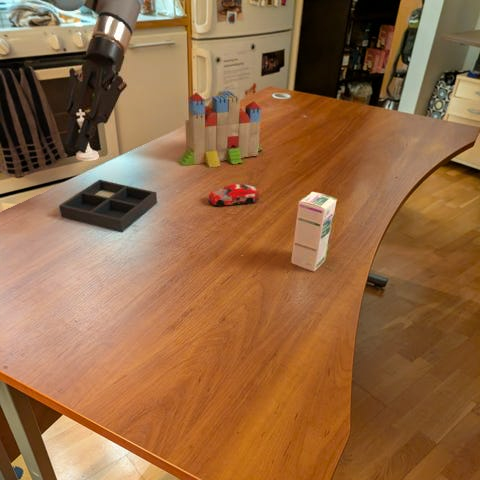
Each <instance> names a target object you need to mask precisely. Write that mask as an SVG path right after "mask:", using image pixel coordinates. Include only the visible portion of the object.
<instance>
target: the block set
mask: <svg viewBox="0 0 480 480" xmlns="http://www.w3.org/2000/svg"><path fill="white" fill-rule="evenodd" d="M188 111H189V112H188V119H185V123H184V124H185V151H184V152H183V153H184V154H183V155H181V158H179V159H178V162H179V164H181V166H183V167H184V166H192V165H201V164H206V166H208V168H217V167H218V166H219V167H221V163H220V162H225V161H224V160H227V162H228V163H230V164H231V165H232V164H233V165H239V164H238V163H241V164H243V163H244V162H243V160H242V159H245V158H244V157H250V156H256V155H258V156H259V152H260V151H259V150H263V151H264V149H263V147H262V146H261V145H260V135H261V134H260V133H261V118H262V117H261V116H262V108H261V106H260V105H258V103H256V101H253V100H252V101H251V102H249V103H248V104H247V105H245V109H244V110H243V109H242V108H241V97H240V96H238V95H237V94H236V93H235V92H233V91H231V90H223V91H222V90H220V91H218V93H216V95H212V96H211V101H210V102H209V103H208V105H206V100H205V98H203V97H202V96H201V95H200V94H199V93H198V92H195V93H193V94H192V95H190V96H189V97H188ZM258 151H259V152H258ZM241 158H242V159H241ZM250 158H251V157H250Z"/></svg>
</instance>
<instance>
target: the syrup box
mask: <svg viewBox="0 0 480 480" xmlns="http://www.w3.org/2000/svg"><path fill="white" fill-rule="evenodd" d="M336 206H337V198H335V197H333V196H330V195H327V194H324V193H320V192H315V191H311V192H310V193H309V194H308V195H305V197H303V198H301V200H299V201H298V205H297V214H296V221H295V228H294V237H293V245H292V250H291V251H292V252H291V259H290V263H291V264H293V265H295V266H298V267H300V268H302V269H305V270H308V271H311V272H313V273H314V272H316V270H317V269H318V268H320V267H321V266H322V265H323V264H324V263H325V261H327V256H328V251H329V245H330V239H331V233H332V228H333V222H334V218H335V211H336V208H337V207H336Z"/></svg>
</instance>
